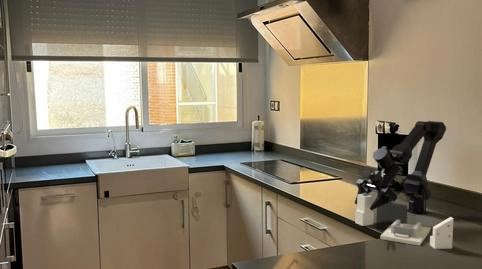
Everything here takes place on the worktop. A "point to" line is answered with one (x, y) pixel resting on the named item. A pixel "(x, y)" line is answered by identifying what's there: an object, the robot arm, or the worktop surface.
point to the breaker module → (364, 210)
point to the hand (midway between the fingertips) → (362, 206)
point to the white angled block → (442, 235)
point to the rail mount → (406, 233)
